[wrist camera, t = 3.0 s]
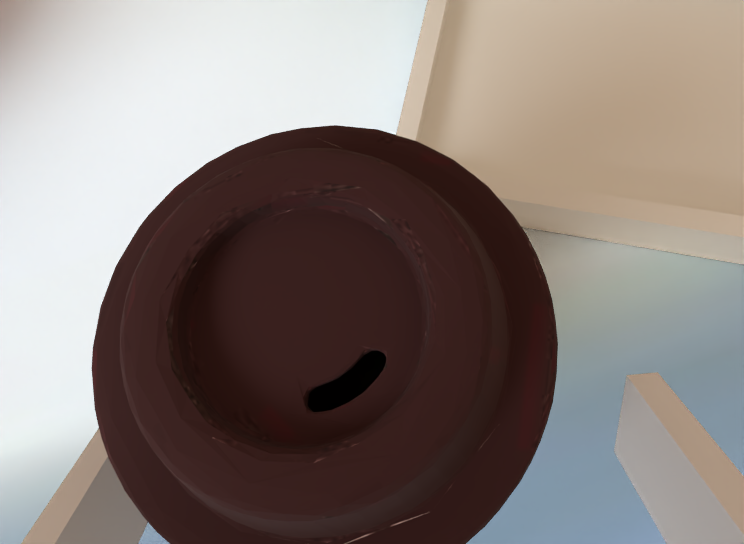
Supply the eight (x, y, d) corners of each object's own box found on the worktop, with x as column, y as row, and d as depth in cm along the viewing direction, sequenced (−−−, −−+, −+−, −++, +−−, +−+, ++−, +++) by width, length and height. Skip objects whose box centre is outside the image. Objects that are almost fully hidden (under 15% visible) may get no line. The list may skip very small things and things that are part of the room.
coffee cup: (275, 279, 24) (84, 88, 10) (468, 275, 24) (555, 64, 9) (261, 486, 22) (-32, 627, 7) (480, 490, 21) (632, 657, 7)
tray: (388, 204, 25) (385, 179, 23) (441, -26, 29) (444, -71, 27) (799, 274, 22) (851, 254, 20) (791, 8, 27) (834, -37, 24)
